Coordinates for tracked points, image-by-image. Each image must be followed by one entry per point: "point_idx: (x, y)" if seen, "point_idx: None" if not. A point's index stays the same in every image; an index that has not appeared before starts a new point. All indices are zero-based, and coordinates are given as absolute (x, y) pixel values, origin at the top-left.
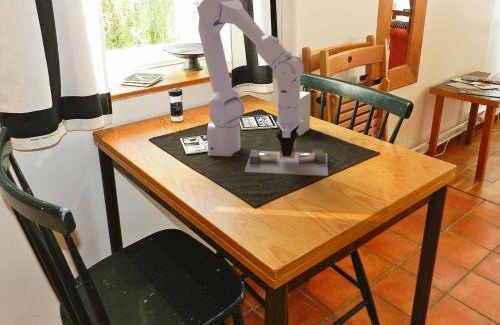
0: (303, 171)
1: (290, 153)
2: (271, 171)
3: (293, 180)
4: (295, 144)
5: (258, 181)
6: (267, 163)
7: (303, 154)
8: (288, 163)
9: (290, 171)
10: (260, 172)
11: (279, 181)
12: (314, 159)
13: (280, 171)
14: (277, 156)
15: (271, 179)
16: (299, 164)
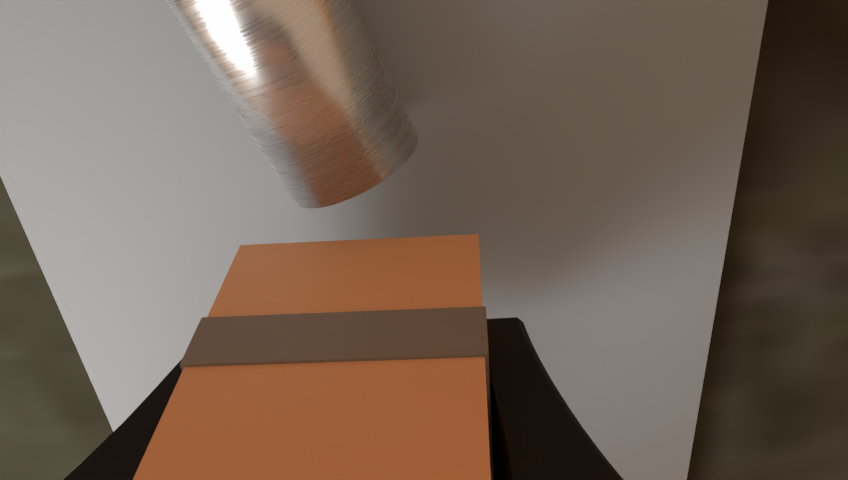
0: (657, 26)
1: (535, 356)
2: (662, 389)
3: (809, 122)
4: (310, 372)
5: (798, 437)
6: None
7: (310, 121)
8: None
9: (661, 201)
10: (687, 470)
11: (820, 268)
12: None
13: (662, 308)
14: None
15: (762, 345)
16: (415, 111)
